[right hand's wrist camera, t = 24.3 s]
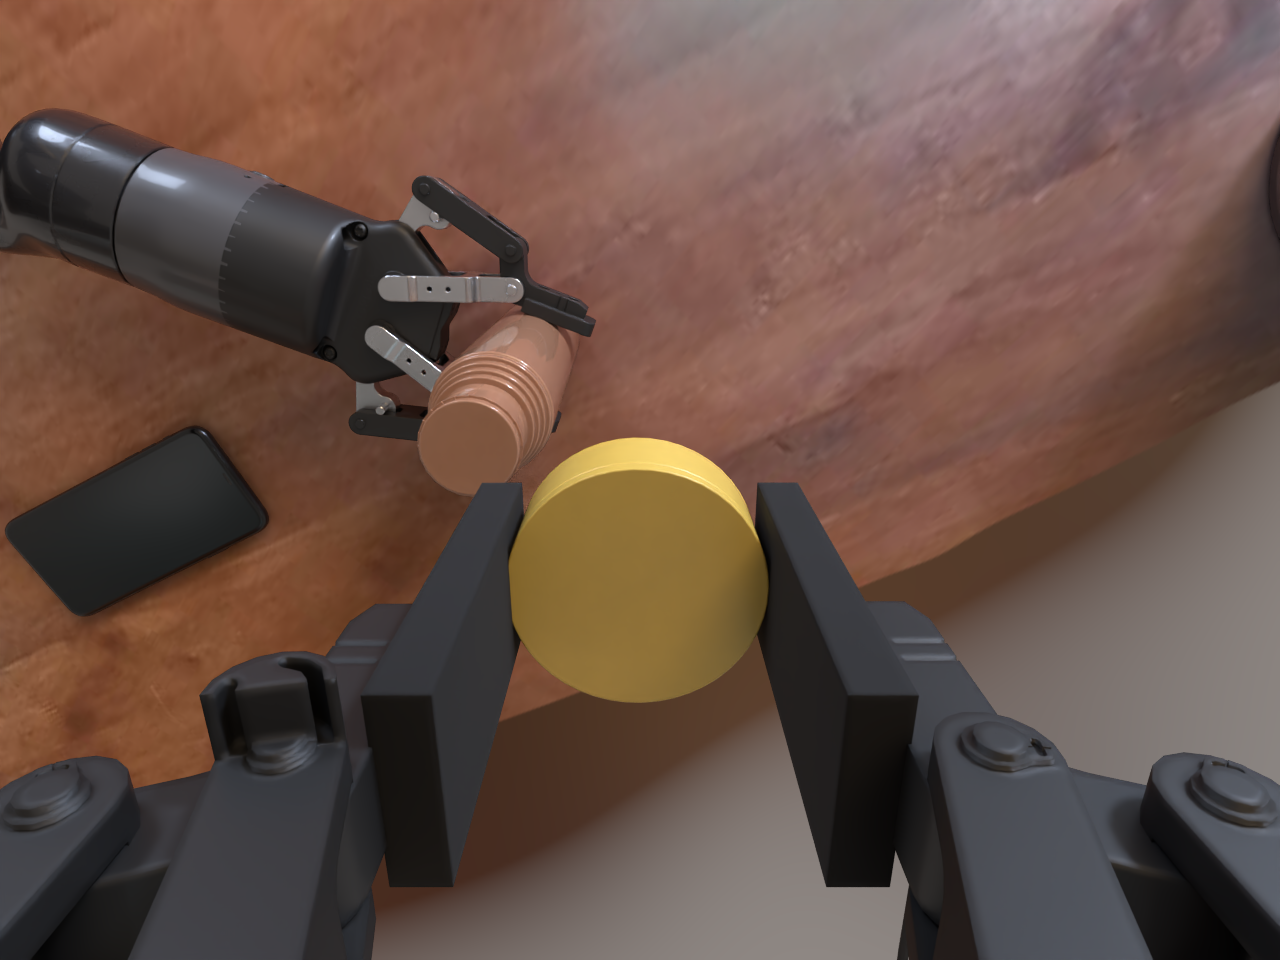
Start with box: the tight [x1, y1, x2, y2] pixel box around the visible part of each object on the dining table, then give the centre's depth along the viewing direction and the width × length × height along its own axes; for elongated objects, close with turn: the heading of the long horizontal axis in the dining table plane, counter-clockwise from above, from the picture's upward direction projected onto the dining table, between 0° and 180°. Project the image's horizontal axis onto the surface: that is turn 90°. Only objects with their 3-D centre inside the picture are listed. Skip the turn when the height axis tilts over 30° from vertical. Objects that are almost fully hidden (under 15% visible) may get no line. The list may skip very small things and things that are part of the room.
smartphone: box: [5, 426, 269, 616], centre depth 49 cm, size 8×1×16 cm
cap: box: [509, 438, 769, 703], centre depth 14 cm, size 4×4×2 cm
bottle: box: [417, 305, 580, 497], centre depth 35 cm, size 5×5×22 cm
